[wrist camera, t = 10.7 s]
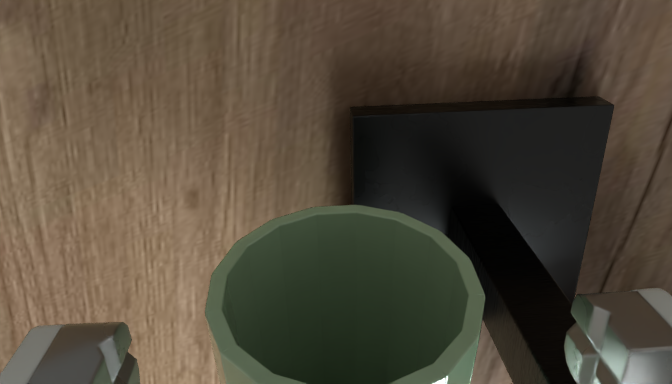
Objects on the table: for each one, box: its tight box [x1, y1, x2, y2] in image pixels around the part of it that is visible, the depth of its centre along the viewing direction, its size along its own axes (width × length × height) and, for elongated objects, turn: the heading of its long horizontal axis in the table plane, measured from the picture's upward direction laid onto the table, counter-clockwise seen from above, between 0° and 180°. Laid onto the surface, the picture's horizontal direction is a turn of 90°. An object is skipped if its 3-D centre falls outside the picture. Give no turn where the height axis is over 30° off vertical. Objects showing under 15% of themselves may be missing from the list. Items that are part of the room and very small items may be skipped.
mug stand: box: [350, 96, 614, 384], centre depth 16 cm, size 10×14×16 cm
